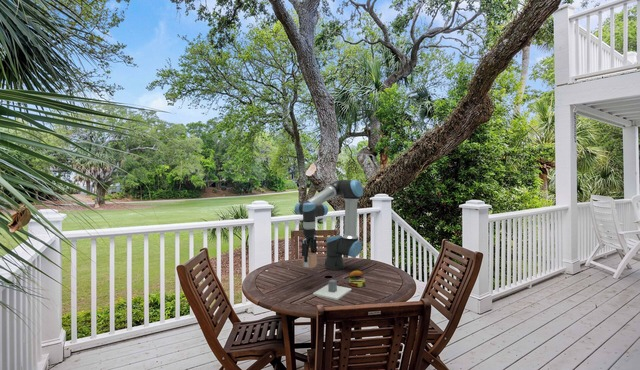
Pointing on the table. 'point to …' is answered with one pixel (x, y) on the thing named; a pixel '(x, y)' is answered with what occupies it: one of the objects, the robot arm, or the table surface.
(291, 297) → the table surface
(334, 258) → the robot arm
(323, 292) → the post board
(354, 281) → the cheeseburger
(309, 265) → the tan wooden block
